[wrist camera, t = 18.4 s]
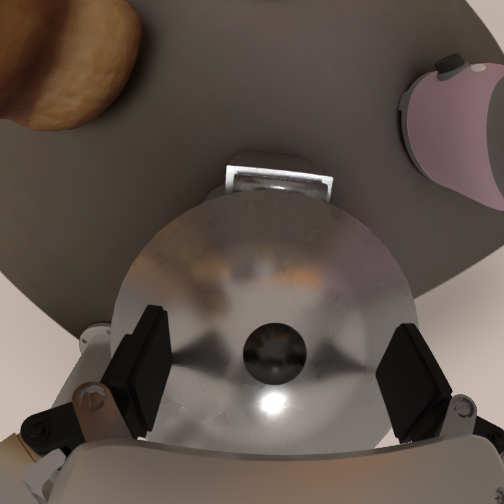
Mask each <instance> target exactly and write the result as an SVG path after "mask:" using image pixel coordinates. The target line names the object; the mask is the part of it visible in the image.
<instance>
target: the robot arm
mask: <svg viewBox="0 0 504 504" xmlns="http://www.w3.org/2000/svg"><path fill="white" fill-rule="evenodd" d="M110 338H111V324H110V323H95V324H92V325H90V326H89V327H87V328H86V329H85V330H84V332H83V333H82V335H81V337H80V340H79V346H80V351H81V354H82V356H81V357H80V359H79V361H78V362H77V364H76V366H75V367H74V369H73V370H72V372H71V374H70V376H69V377H68V379H67V381H66V382H65V384H64V386H63V388H62V390H61V391H60V393H59V395H58V396H57V398H56V400H55V402H54V404H53V405H52V407H51V409H49V410H46V411H43V412H40V413H37V414H34V415H31V416H30V417H28V418H27V419H25V421H24V422H23V423H22V426H21V430H20V431H21V432H20V433H19V434H17V435H16V434H15V433H13V434H12V435H10V436H9V437H8V438H6V439H5V440H3V441H2V442H0V504H504V430H503V429H501V428H500V427H498V426H496V425H494V424H492V423H490V422H488V421H486V420H484V419H482V418H481V417H479V416H477V407H476V405H475V403H474V401H473V400H471V398H469V397H468V396H466V395H463V394H458V395H455V396H454V397H452V396H451V393H452V392H453V391H452V389H451V387H450V385H449V383H448V381H447V379H446V377H445V376H444V374H443V372H442V370H441V368H440V366H439V364H438V363H437V361H436V359H435V357H434V356H433V354H432V352H431V350H430V349H429V347H428V345H427V343H426V342H425V340H424V338H423V337H422V335H421V333H420V332H419V330H418V328H417V327H416V325H415V324H414V323H401V324H400V325H399V326H398V327H397V328H396V329H395V331H394V334H393V336H392V338H391V340H390V342H389V345H388V347H387V349H386V351H385V353H384V355H383V357H382V359H381V361H380V363H379V365H378V367H377V369H376V373H375V376H376V380H377V383H378V386H379V388H380V391H381V394H382V397H383V400H384V403H385V406H386V409H387V412H388V415H389V419H390V422H391V425H392V428H393V431H394V435H395V437H396V438H398V439H399V442H400V445H395V446H389V447H383V448H376V449H368V450H360V451H351V452H340V453H327V454H305V455H269V454H246V453H233V452H222V451H213V450H204V449H196V448H189V447H182V446H175V445H169V444H163V443H156V442H150V441H144V440H137V438H138V437H143V438H146V435H147V431H148V432H152V430H153V426H154V423H155V420H156V416H157V413H158V409H159V406H160V403H161V399H162V396H163V393H164V390H165V386H166V383H167V380H168V377H169V374H170V370H171V367H172V361H173V358H172V350H171V341H170V332H169V322H168V312H167V311H166V310H163V307H162V306H157V305H150V304H148V305H147V307H146V308H145V310H144V312H143V314H142V316H141V318H140V320H139V321H138V323H137V325H136V327H135V329H134V331H133V333H132V334H125V335H124V337H123V338H122V340H121V342H120V344H119V346H118V348H117V349H116V351H115V353H114V355H113V357H112V359H111V348H110ZM411 441H412V442H411ZM408 442H411V443H408ZM403 443H406V444H403Z"/></svg>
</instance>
